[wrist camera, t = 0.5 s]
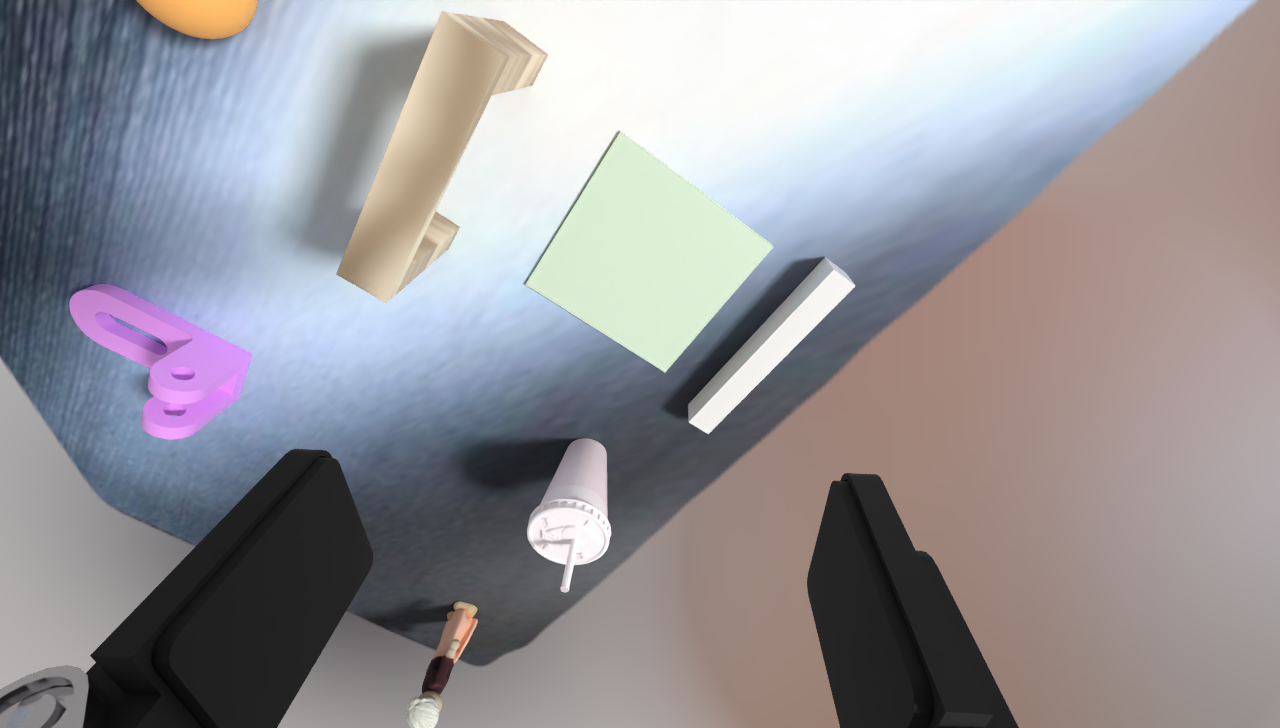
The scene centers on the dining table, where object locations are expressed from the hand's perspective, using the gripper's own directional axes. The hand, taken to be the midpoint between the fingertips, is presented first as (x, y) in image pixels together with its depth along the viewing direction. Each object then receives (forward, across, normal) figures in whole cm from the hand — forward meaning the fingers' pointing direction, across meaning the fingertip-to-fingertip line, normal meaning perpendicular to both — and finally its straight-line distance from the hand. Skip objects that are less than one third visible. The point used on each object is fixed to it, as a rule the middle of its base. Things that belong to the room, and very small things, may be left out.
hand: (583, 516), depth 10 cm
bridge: (+30, +12, -2) cm, 32 cm away
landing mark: (+30, 0, +6) cm, 30 cm away
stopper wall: (+30, -9, +12) cm, 33 cm away
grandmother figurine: (+30, +21, +48) cm, 61 cm away
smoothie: (+30, +6, +24) cm, 39 cm away
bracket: (+30, +41, +13) cm, 52 cm away
